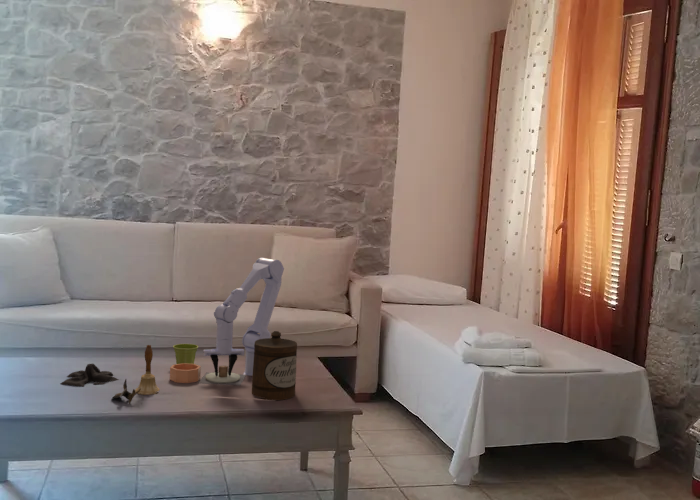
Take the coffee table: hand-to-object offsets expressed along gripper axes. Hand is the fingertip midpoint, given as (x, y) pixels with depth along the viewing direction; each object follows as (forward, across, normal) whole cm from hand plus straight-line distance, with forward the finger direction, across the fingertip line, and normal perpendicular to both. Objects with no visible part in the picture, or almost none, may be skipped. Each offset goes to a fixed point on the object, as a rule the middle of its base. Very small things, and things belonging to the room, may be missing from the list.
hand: (223, 374), depth 271 cm
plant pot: (+2, +12, -18) cm, 22 cm away
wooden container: (+2, -15, +19) cm, 25 cm away
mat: (+2, 0, 0) cm, 2 cm away
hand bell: (+2, +27, +11) cm, 29 cm away
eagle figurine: (+2, +34, +21) cm, 40 cm away
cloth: (+3, +44, -6) cm, 45 cm away
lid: (+1, 0, 0) cm, 1 cm away
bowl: (+2, +13, -1) cm, 13 cm away
